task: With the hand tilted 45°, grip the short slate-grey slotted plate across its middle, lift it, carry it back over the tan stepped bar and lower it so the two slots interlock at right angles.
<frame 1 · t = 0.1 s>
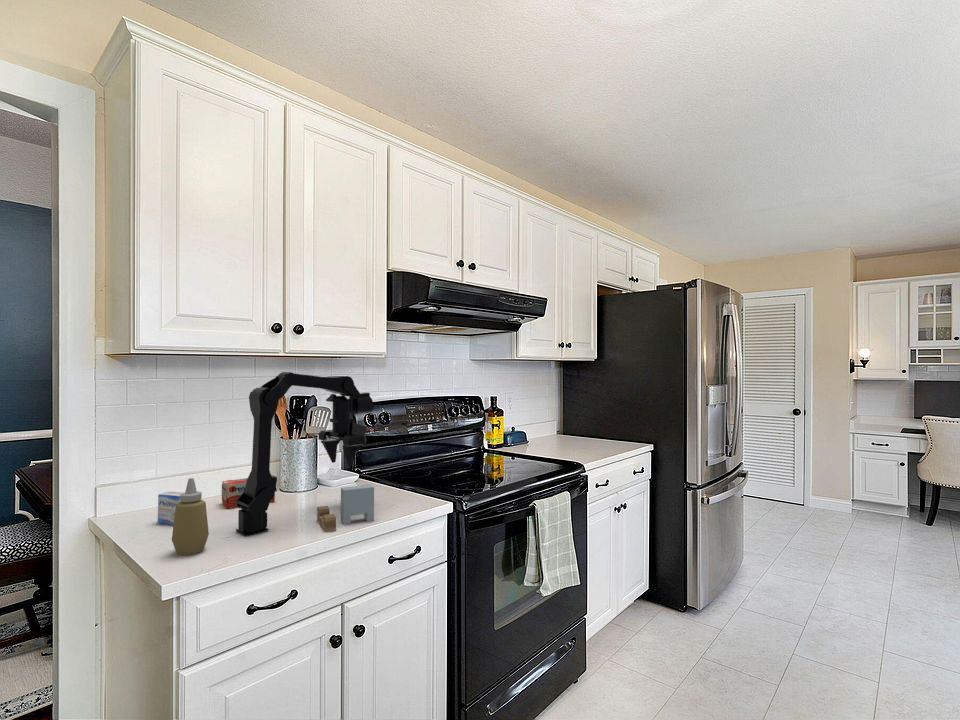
hand: (341, 464, 164), 15 cm above the worktop, tool pointing down, fingers open, 9 cm apart
medicine box: (174, 523, 150), on the worktop
medicine box 2: (248, 504, 172), on the worktop
tan stepped bar: (326, 525, 149), on the worktop
grey slotted plate: (357, 521, 153), on the worktop
squeeze bottle: (190, 552, 128), on the worktop
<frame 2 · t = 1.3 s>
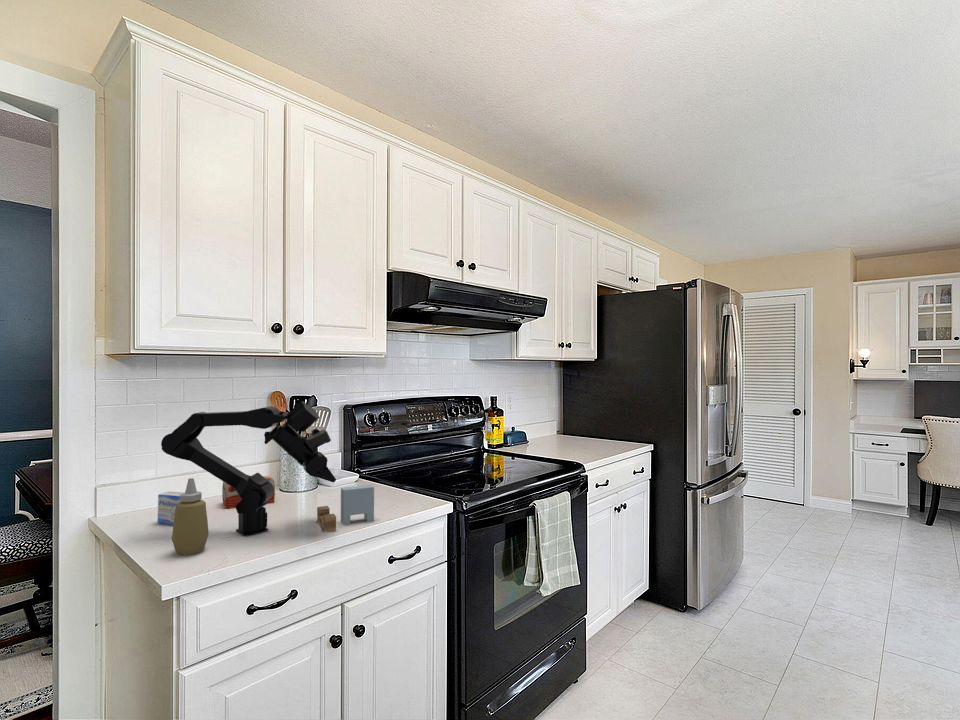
hand: (331, 477, 150), 14 cm above the worktop, tool tilted 45°, fingers open, 9 cm apart
nothing on the worktop moved.
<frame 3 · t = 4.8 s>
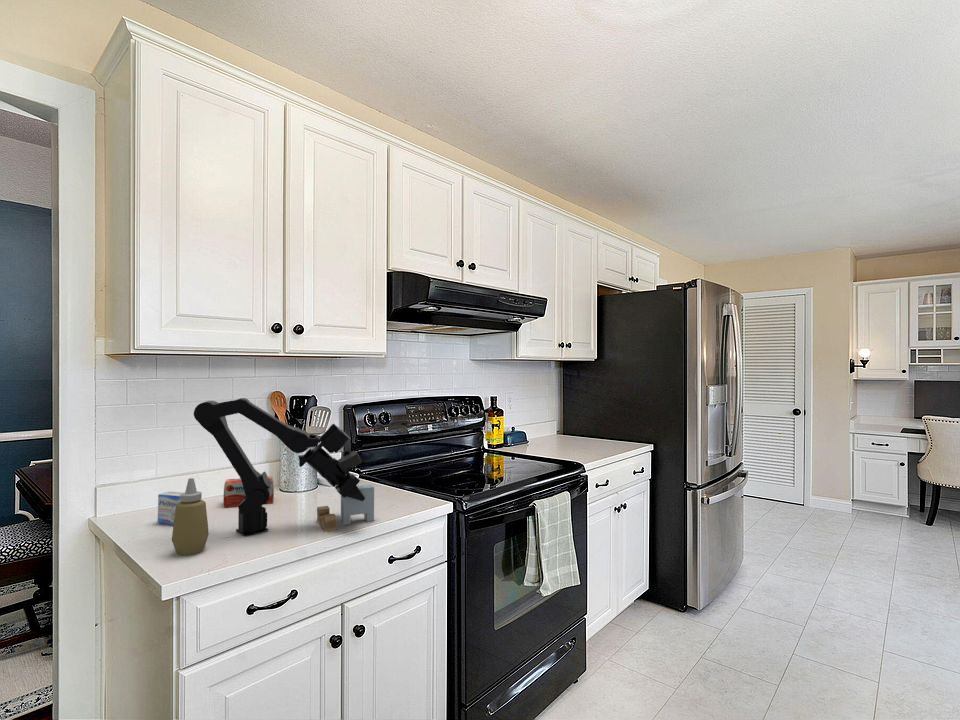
hand: (362, 498, 154), 7 cm above the worktop, tool tilted 45°, fingers closed on grey slotted plate, 3 cm apart
grey slotted plate: (357, 521, 153), on the worktop, touching gripper
when the fingers open (8 cm above the worktop, at t = 9.9 s): grey slotted plate stays where it is, on the worktop.
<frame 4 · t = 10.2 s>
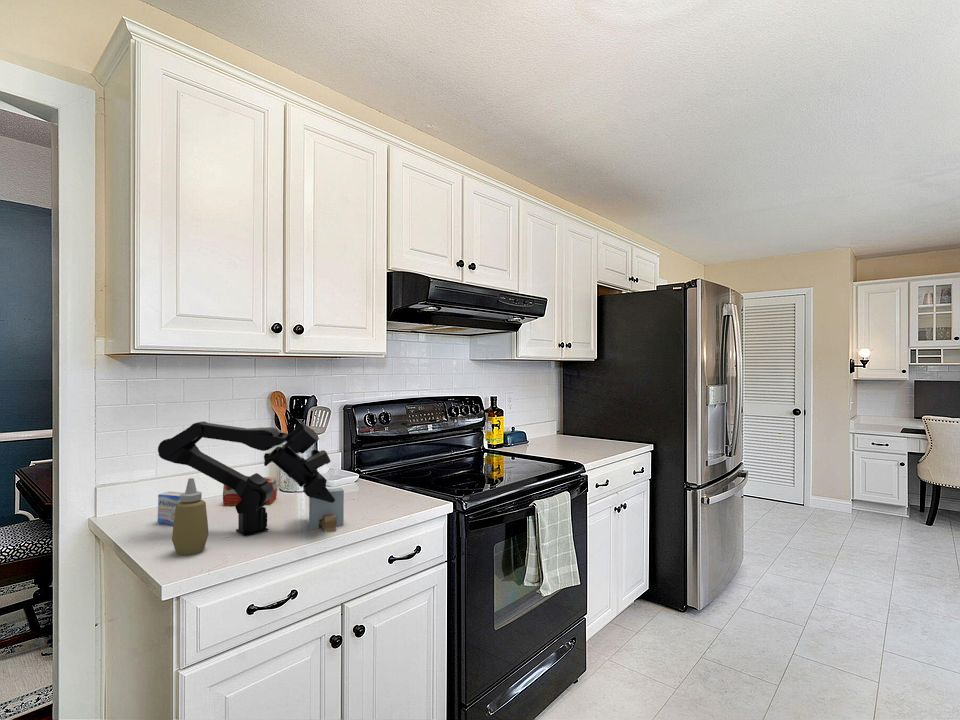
hand: (331, 498, 149), 8 cm above the worktop, tool tilted 45°, fingers open, 7 cm apart
grey slotted plate: (326, 525, 149), on the worktop
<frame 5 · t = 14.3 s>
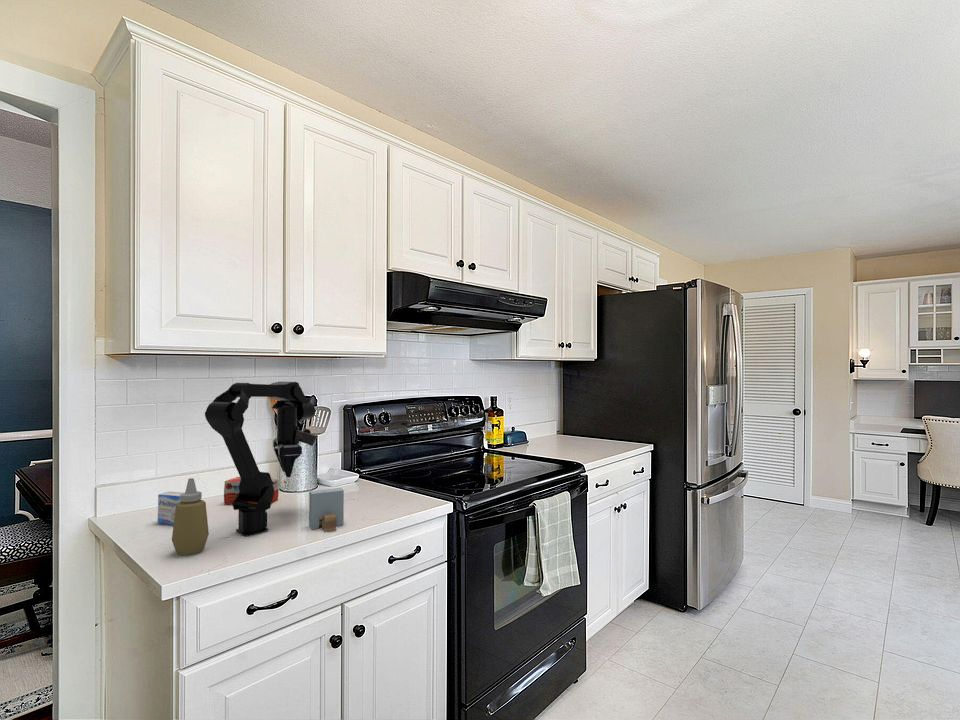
hand: (286, 474, 157), 13 cm above the worktop, tool pointing down, fingers open, 9 cm apart
at the end: grey slotted plate 0.0 cm off-centre on the tan stepped bar, point 0.0 cm above the tan stepped bar's base; grey slotted plate tilted 0°; the gripper is holding nothing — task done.
